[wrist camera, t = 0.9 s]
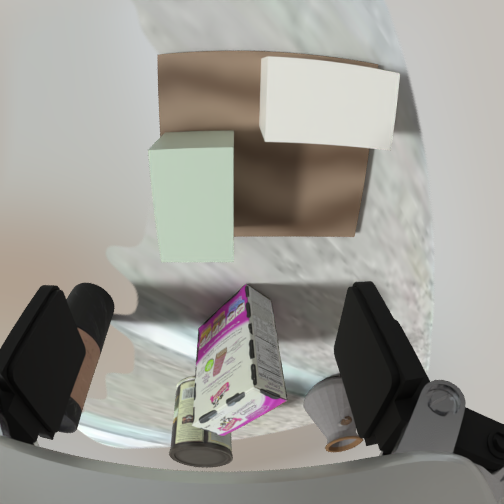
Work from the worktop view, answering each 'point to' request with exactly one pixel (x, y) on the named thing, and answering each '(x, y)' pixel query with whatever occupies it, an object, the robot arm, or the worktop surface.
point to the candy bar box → (237, 365)
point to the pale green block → (194, 195)
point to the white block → (327, 103)
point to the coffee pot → (332, 414)
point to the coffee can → (195, 434)
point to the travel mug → (87, 343)
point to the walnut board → (263, 147)
